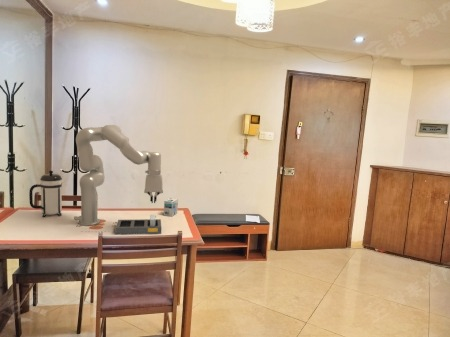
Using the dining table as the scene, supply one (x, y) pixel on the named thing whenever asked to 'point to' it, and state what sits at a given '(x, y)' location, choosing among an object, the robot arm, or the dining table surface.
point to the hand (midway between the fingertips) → (153, 202)
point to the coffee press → (49, 194)
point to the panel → (152, 220)
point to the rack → (138, 227)
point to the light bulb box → (170, 207)
